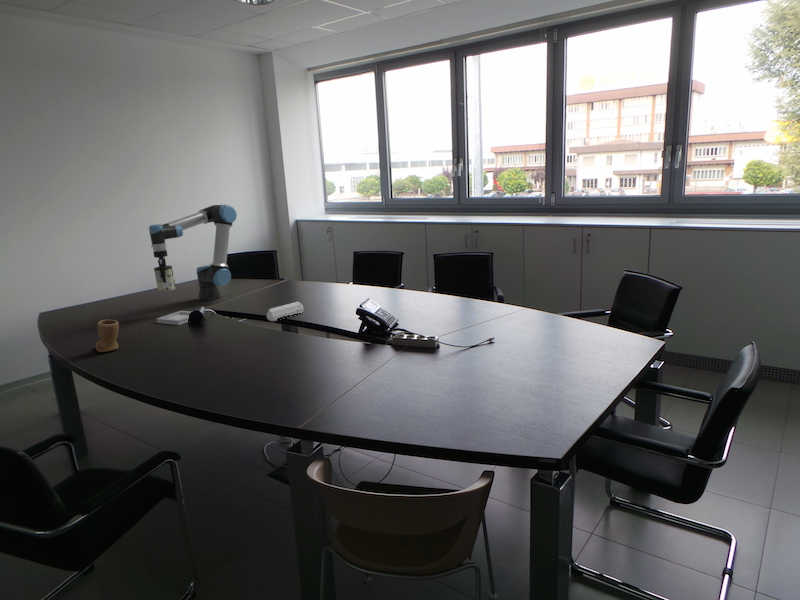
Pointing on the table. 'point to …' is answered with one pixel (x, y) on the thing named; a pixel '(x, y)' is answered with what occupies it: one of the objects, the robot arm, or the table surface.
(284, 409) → the table surface
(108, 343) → the stone cup
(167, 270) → the coffee can
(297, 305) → the crystal
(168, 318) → the plate
